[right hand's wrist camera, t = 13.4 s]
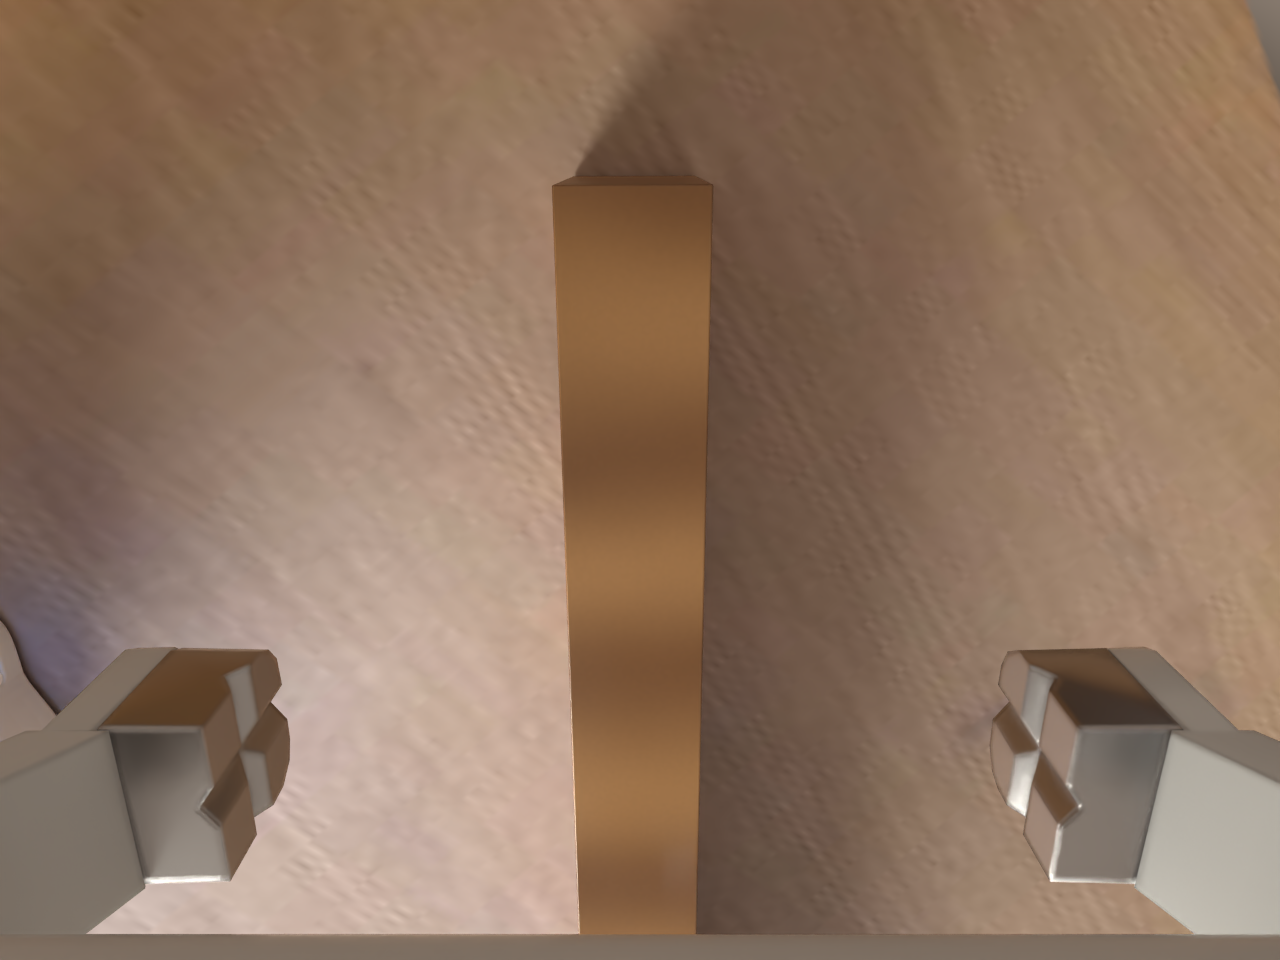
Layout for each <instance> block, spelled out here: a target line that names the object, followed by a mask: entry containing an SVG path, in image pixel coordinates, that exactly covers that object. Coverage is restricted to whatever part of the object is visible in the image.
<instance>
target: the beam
mask: <svg viewBox="0 0 1280 960" xmlns="http://www.w3.org/2000/svg"><path fill="white" fill-rule="evenodd" d="M552 198H553V226H554V254H555V282H556V311H557V339H558V367H559V395H560V423H561V451H562V480H563V508H564V536H565V564H566V592H567V621H568V649H569V677H570V705H571V733H572V761H573V790H574V818H575V846H576V874H577V902H578V930H579V934H696V926H697V882H698V837H699V793H700V748H701V704H702V659H703V615H704V570H705V526H706V481H707V436H708V392H709V347H710V303H711V258H712V214H713V185H712V184H710V183H708V182H706V181H704V180H702V179H700V178H698V177H696V176H573V177H571V178H569V179H566V180H564V181H562V182H559V183H557V184H555V185H553V186H552Z"/></svg>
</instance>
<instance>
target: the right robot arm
mask: <svg viewBox="0 0 1280 960" xmlns="http://www.w3.org/2000/svg"><path fill="white" fill-rule="evenodd" d="M281 685H282V683H281V678H280V673H279V668H278V663H277V658H276V657H275V656H274V655H273V654H272V653H271V652H270V651H269V650H261V649H209V648H180V649H178V648H176V647H159V648H134V649H128V650H125V651H124V652H123V653H122V654H121V655H120V656H118V657H117V658H116V659H115V660H114V661H113V662H112V663H111V664H110V665H109V666H108V667H107V668H106V669H105V670H104V671H103V672H102V673H101V674H100V675H99V676H98V677H97V678H95V679H94V680H93V681H92V682H91V683H90V684H89V685H88V686H87V687H86V688H85V689H84V690H83V691H82V692H81V693H80V694H79V695H78V696H77V697H76V698H75V699H74V700H73V701H71V702H70V703H69V704H68V705H67V706H66V707H65V708H64V709H63V710H62V711H61V712H60V713H59V714H58V715H57V716H56V714H55V713H54V712H53V710H52V709H51V708H50V706H49V705H48V704H47V703H46V702H45V700H44V699H43V698H42V697H41V696H40V694H39V693H38V692H37V691H36V690H35V688H34V687H33V686H32V684H31V683H30V682H29V680H28V679H27V677H26V676H25V674H24V672H23V669H22V666H21V663H20V659H19V656H18V653H17V650H16V647H15V645H14V642H13V640H12V637H11V635H10V633H9V631H8V630H7V628H6V627H5V625H4V624H3V623H2V622H1V621H0V960H1280V742H1279V741H1277V740H1275V739H1272V738H1270V737H1268V736H1265V735H1263V734H1261V733H1258V732H1256V731H1245V730H1238V729H1237V728H1236V727H1235V726H1234V725H1233V724H1232V723H1231V722H1229V721H1228V720H1227V719H1226V718H1225V717H1224V716H1223V715H1222V714H1221V713H1220V712H1219V711H1218V710H1217V709H1216V708H1215V707H1214V706H1213V705H1212V704H1211V703H1210V702H1209V701H1208V700H1207V699H1206V698H1204V697H1203V696H1202V695H1201V694H1200V693H1199V692H1198V691H1197V690H1196V689H1195V688H1194V687H1193V686H1192V685H1191V684H1190V683H1189V682H1188V681H1187V680H1186V679H1185V678H1184V677H1183V676H1182V675H1181V674H1180V673H1178V672H1177V671H1176V670H1175V669H1174V668H1173V667H1172V666H1171V665H1170V664H1169V663H1168V662H1167V661H1166V660H1165V659H1164V658H1163V657H1162V656H1161V655H1160V654H1159V653H1158V652H1157V651H1155V650H1152V649H1149V648H1146V647H1129V648H1095V649H1055V650H1018V651H1008V652H1007V654H1006V656H1005V658H1004V661H1003V663H1002V665H1001V671H1000V677H999V683H998V685H999V687H1000V688H1001V690H1002V691H1003V693H1004V694H1005V696H1006V697H1007V699H1008V700H1009V703H1008V704H1007V705H1006V706H1005V707H1004V708H1003V709H1002V710H1001V711H1000V712H999V713H998V714H997V715H996V716H995V717H994V718H993V721H992V730H991V738H990V754H991V764H992V772H993V775H994V778H995V781H996V784H997V787H998V790H999V792H1000V793H1001V795H1002V797H1003V799H1004V801H1005V803H1006V805H1008V806H1009V807H1011V808H1012V809H1014V810H1015V811H1017V812H1018V813H1020V814H1022V815H1023V816H1025V817H1026V820H1025V826H1024V832H1023V835H1024V837H1025V839H1026V840H1027V842H1028V844H1029V846H1030V847H1031V849H1032V851H1033V853H1034V854H1035V856H1036V858H1037V860H1038V861H1039V863H1040V865H1041V867H1042V868H1043V870H1044V872H1045V874H1046V875H1047V877H1048V879H1049V881H1052V882H1088V883H1124V884H1135V887H1134V888H1136V889H1137V890H1138V891H1139V892H1141V893H1142V894H1143V895H1145V896H1146V897H1147V898H1149V899H1150V900H1151V901H1152V902H1154V903H1155V904H1156V905H1158V906H1159V907H1160V908H1162V909H1163V910H1164V911H1165V912H1167V913H1168V914H1169V915H1171V916H1172V917H1173V918H1175V919H1176V920H1177V921H1178V922H1180V923H1181V924H1182V925H1184V926H1185V927H1186V928H1187V929H1189V930H1190V931H1191V932H1193V933H1194V934H86V933H88V932H89V931H90V930H92V929H93V928H94V927H95V926H97V925H98V924H99V923H101V922H102V921H103V920H104V919H106V918H107V917H108V916H110V915H111V914H112V913H114V912H115V911H116V910H117V909H119V908H120V907H121V906H123V905H124V904H125V903H127V902H128V901H129V900H130V899H132V898H133V897H134V896H136V895H137V894H138V893H140V892H141V891H142V890H143V889H145V884H155V883H190V882H225V881H231V879H232V877H233V876H234V874H235V872H236V870H237V869H238V867H239V865H240V863H241V861H242V860H243V858H244V856H245V854H246V853H247V851H248V849H249V847H250V846H251V844H252V842H253V840H254V839H255V837H256V835H257V832H256V826H255V820H254V817H255V816H257V815H258V814H260V813H262V812H263V811H265V810H266V809H268V808H269V807H271V806H272V805H274V803H275V801H276V799H277V797H278V795H279V793H280V791H281V789H282V788H283V785H284V781H285V777H286V773H287V769H288V764H289V760H290V735H289V728H288V721H287V718H286V717H285V716H284V715H283V714H282V713H281V712H280V711H279V710H278V709H277V708H276V707H275V706H274V705H273V704H272V703H271V700H272V699H273V697H274V696H275V694H276V693H277V691H278V690H279V688H280V687H281Z"/></svg>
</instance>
